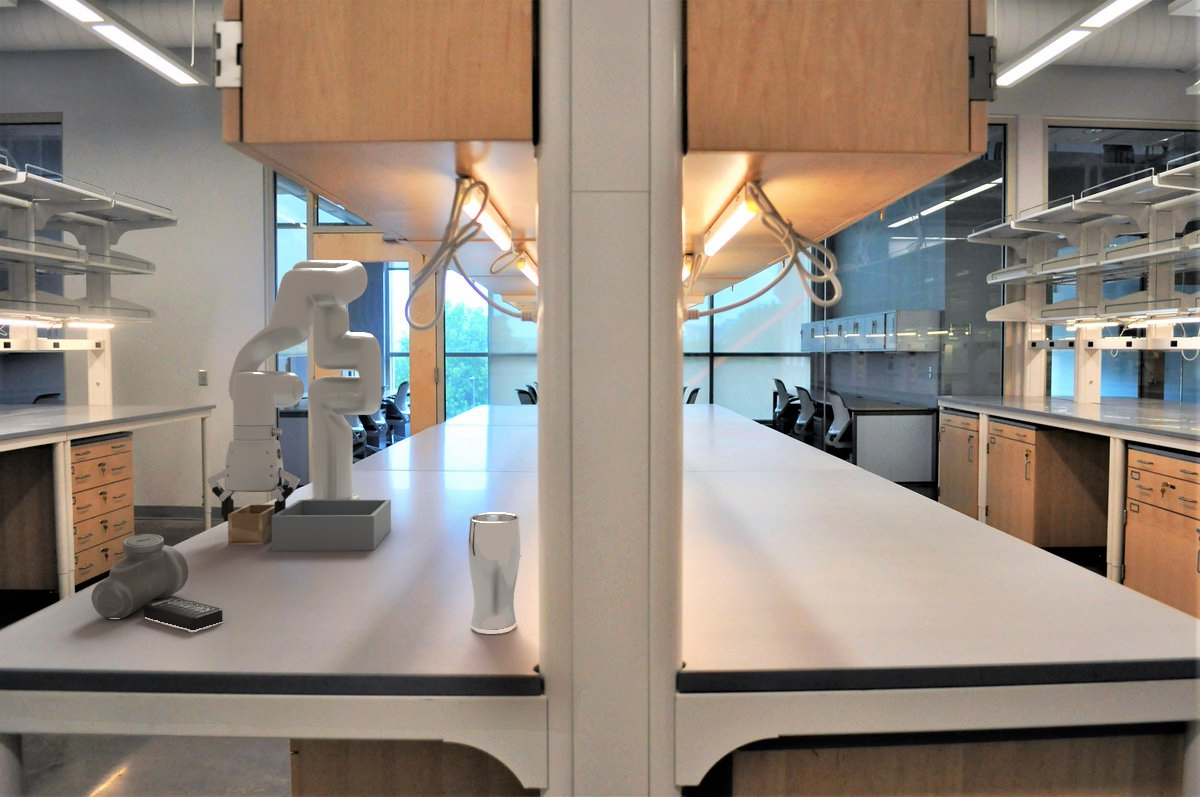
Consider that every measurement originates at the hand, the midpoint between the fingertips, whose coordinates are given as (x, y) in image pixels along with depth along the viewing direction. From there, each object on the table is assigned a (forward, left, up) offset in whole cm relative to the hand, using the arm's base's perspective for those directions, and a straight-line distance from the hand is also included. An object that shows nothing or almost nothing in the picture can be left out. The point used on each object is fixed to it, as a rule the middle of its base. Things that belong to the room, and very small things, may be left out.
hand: (253, 520), depth 147 cm
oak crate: (-1, 0, -4) cm, 4 cm away
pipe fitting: (+41, -1, -4) cm, 42 cm away
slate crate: (+1, +16, -4) cm, 17 cm away
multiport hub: (+47, +8, -4) cm, 48 cm away
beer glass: (+51, +50, -4) cm, 72 cm away
